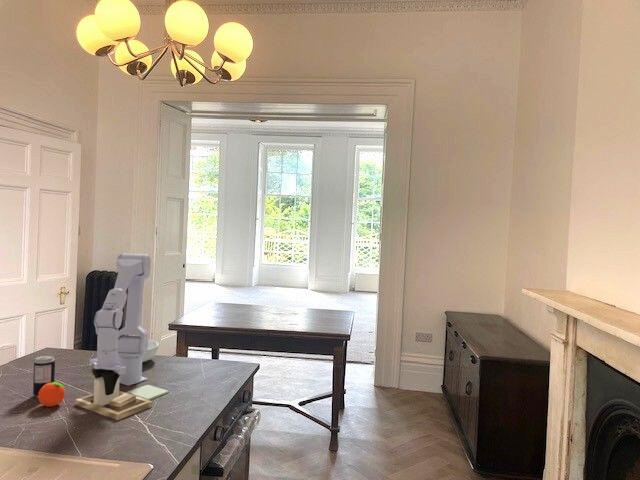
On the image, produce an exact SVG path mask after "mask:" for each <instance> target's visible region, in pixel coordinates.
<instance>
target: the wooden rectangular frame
mask: <svg viewBox="0 0 640 480" xmlns="http://www.w3.org/2000/svg"><path fill="white" fill-rule="evenodd" d="M125 393H126V392H124V391H121V390H119V396H121V395H123V394H125ZM126 394H128V393H126ZM75 405H76V406H77V407H80V408H83V409H86V410H89V411H91V412H93V413H97V414H99V415H101V416H105V417H106V418H110V419H113V420H115V421H119V420H122V419H124V418H127V417H129V416H132V415H133V414H137V413H139V412H141V411H144V410H147V409H149V408H151V407H153V401H152V400H147V399H144V398H141V397H137V396H136V406H133V407H131V408H128V409H125V410H123V411H120V412H116V411H113V410H111V409H110V408H109V407H108V408H107V407H105V406H99V405H97V404H94V393H92V394H89V395H85V396H82V397H79V398H76V399H75Z"/></svg>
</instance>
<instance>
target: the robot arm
mask: <svg viewBox="0 0 640 480" xmlns="http://www.w3.org/2000/svg"><path fill="white" fill-rule="evenodd" d="M151 263H152V262H151V258H150V255H149V254H148V253H124V252H120V253H119V254H118V255H117V257H116V263H115V264H116V269H117V272H118V273H117V276H116V280H115V283H114V287H113V288H111V289H110V290H108V293H107V295H106V298H105V300H104V302H103V305H102V307H101V309H99V310H97V311H96V312H95V315H94V320H93V325H94V327H95V335H97V339H96V340H97V346H96V347H97V348H96V350H97V351H96V357H95V358H92V359H89V360H88V361H89V363H88V364H89V365H88V366H89V367H93V369H94V370H92V372H91V373H92V374H93V377H94V379H97V378H100V377H103V379H104V383H105V393H106V395H110V394H113V392H114V389H115V385H116V382H117V380H118V378H119V384H121V385H125V386H128V387H129V386H133V385H134V384H138V383H141V382H144V381H147V380H148V378H147V377H145V376H142V375H143V372H142V371H143V362H142V355H144V354H145V353H146V351H147V348H148V340H149V339H148V337H149V336H148V332H147V331H146V330H145V329H144V328H143V327H141V318H142V307H143V296H144V288H145V280H146V279H148V278H149V277H150V274H151V266H152V265H151ZM126 292H127V293H126ZM126 302H127V303H126ZM125 305H126V313H125V324H124V327H122V328H121V326H122V322H123V316H124V311H123V310H124V306H125ZM119 328H121V329H120V330H119Z"/></svg>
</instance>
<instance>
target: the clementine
mask: <svg viewBox="0 0 640 480" xmlns="http://www.w3.org/2000/svg"><path fill="white" fill-rule="evenodd" d="M66 391H67V389H66V387H65V386H64V385H63V384H62V383H59V382H58V381H55V382H50V383H47V384H45V385H44V386H43V387H42V388H41V389H40V391H39V393H38V398H37V399H38V401H39V403H40V404H41V405H43V406H44V407H55V406H58V404H60V403H62V401H63V400H64V397H65V395H66Z"/></svg>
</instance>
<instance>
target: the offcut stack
mask: <svg viewBox="0 0 640 480" xmlns="http://www.w3.org/2000/svg"><path fill="white" fill-rule="evenodd" d="M108 405H109V406H110V408H109V409H111V410H113V411H116V412H120V411H123V410H125V409H128V408H131V407H133V406H136V405H137V404H136V395H132V394H126V392H125V394H123V395H121V396H119V397H116V398H114V399H112V400H110V401H109V404H108Z"/></svg>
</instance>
